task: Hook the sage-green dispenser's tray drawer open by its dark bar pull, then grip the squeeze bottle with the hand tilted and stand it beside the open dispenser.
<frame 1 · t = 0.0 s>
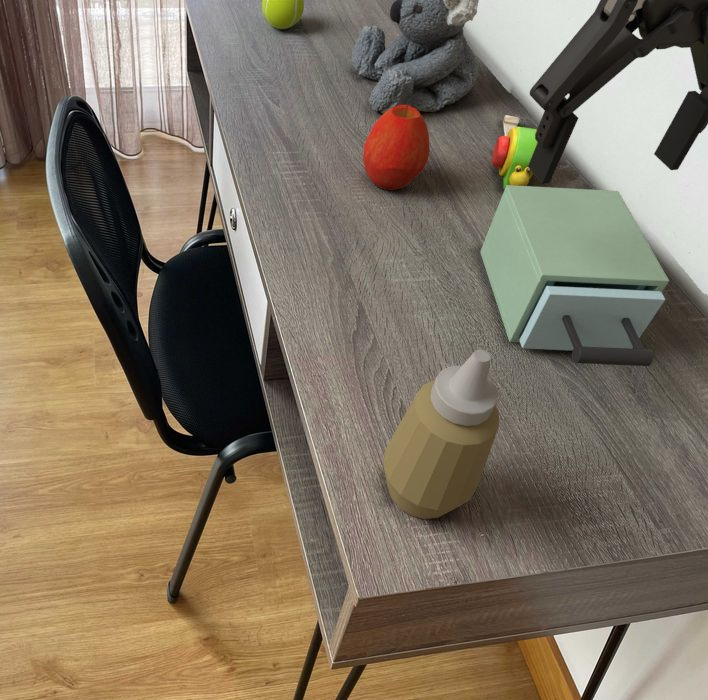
hand: (603, 168, 68), 18 cm above the table, tool pointing down, fingers open, 13 cm apart
red egg-shaped piece: (388, 182, 96), on the table
squeeze bottle: (419, 491, 65), on the table
tennis ball: (280, 28, 125), on the table
koala plush: (414, 90, 113), on the table
cabinet: (548, 297, 83), on the table
drawer: (579, 298, 76), point 5 cm above the table, slide at 0.5 cm
toy measuring tape: (510, 161, 101), on the table
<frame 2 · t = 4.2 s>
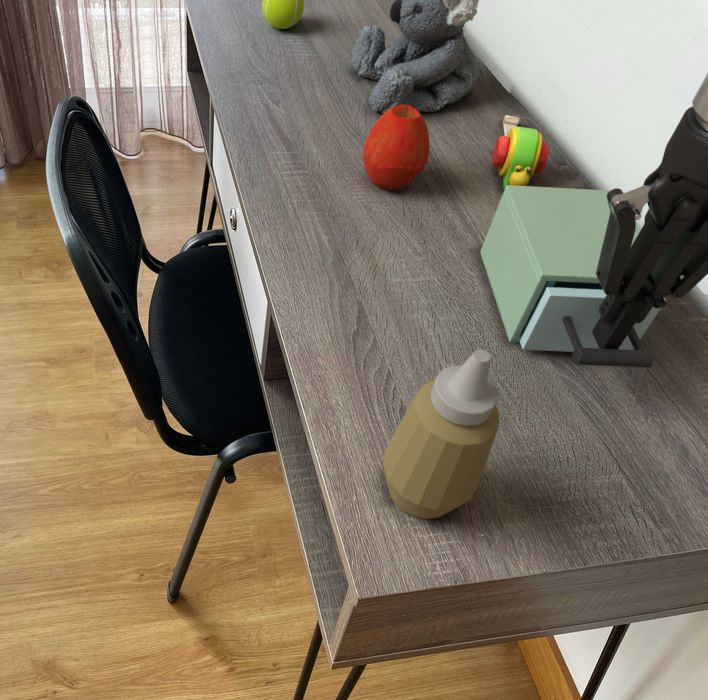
hand: (603, 341, 71), 5 cm above the table, tool pointing down, fingers closed
drawer: (580, 299, 76), point 5 cm above the table, slide at 0.7 cm, touching gripper
everything else where it was.
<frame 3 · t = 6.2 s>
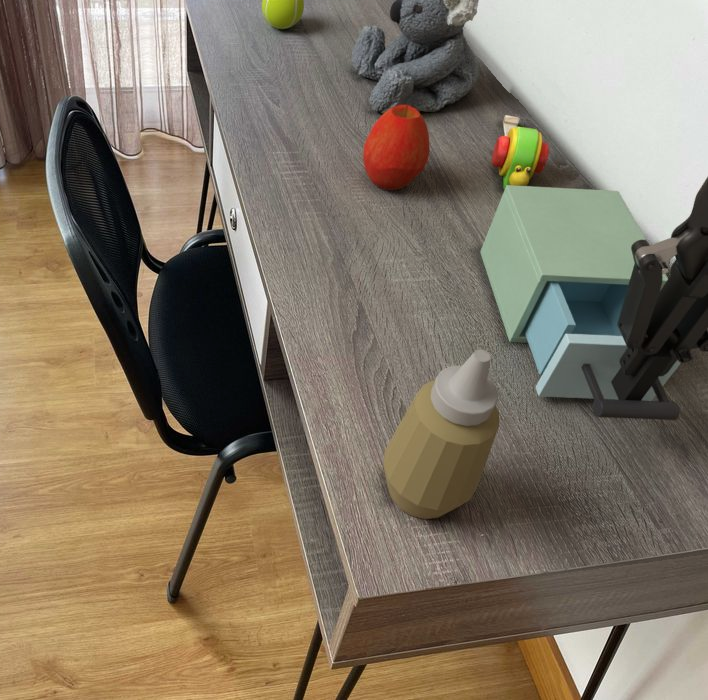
hand: (624, 393, 67), 5 cm above the table, tool pointing down, fingers closed
drawer: (599, 343, 72), point 5 cm above the table, slide at 6.8 cm
everything else where it was.
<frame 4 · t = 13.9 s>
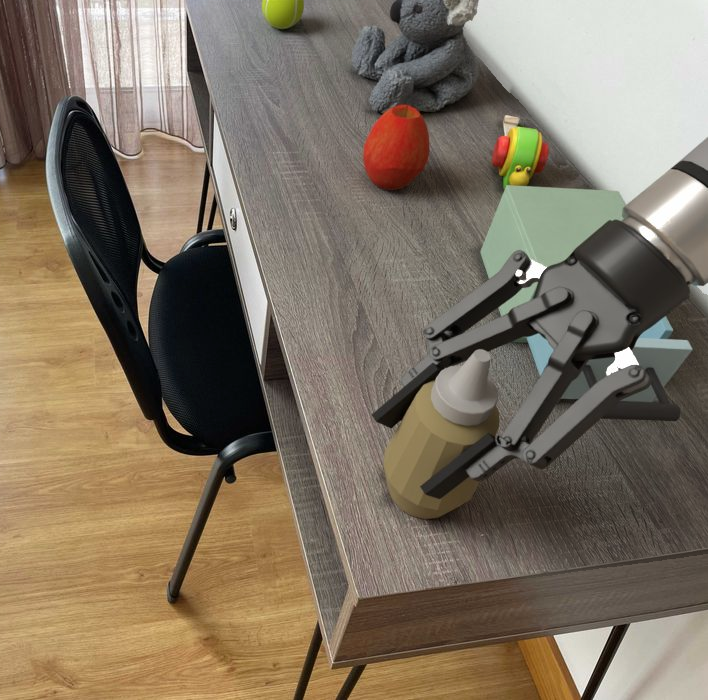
hand: (405, 455, 58), 7 cm above the table, tool tilted 45°, fingers closed on squeeze bottle, 6 cm apart
squeeze bottle: (419, 491, 65), on the table, touching gripper
everything else where it was.
when the fingers open (7 cm above the table, at t = 24.4 s): squeeze bottle stays where it is, on the table.
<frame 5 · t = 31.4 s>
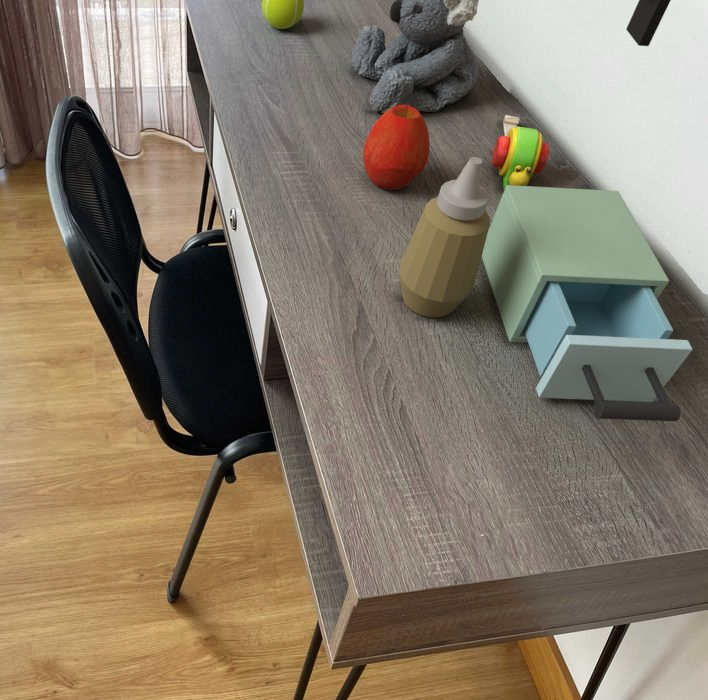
squeeze bottle: (427, 301, 81), on the table
everything else where it was.
at the end: drawer slide at 7.0 cm; squeeze bottle inside the target area on the table beside the cabinet (0.1 cm from its centre), on the table; squeeze bottle tilted 0° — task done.
